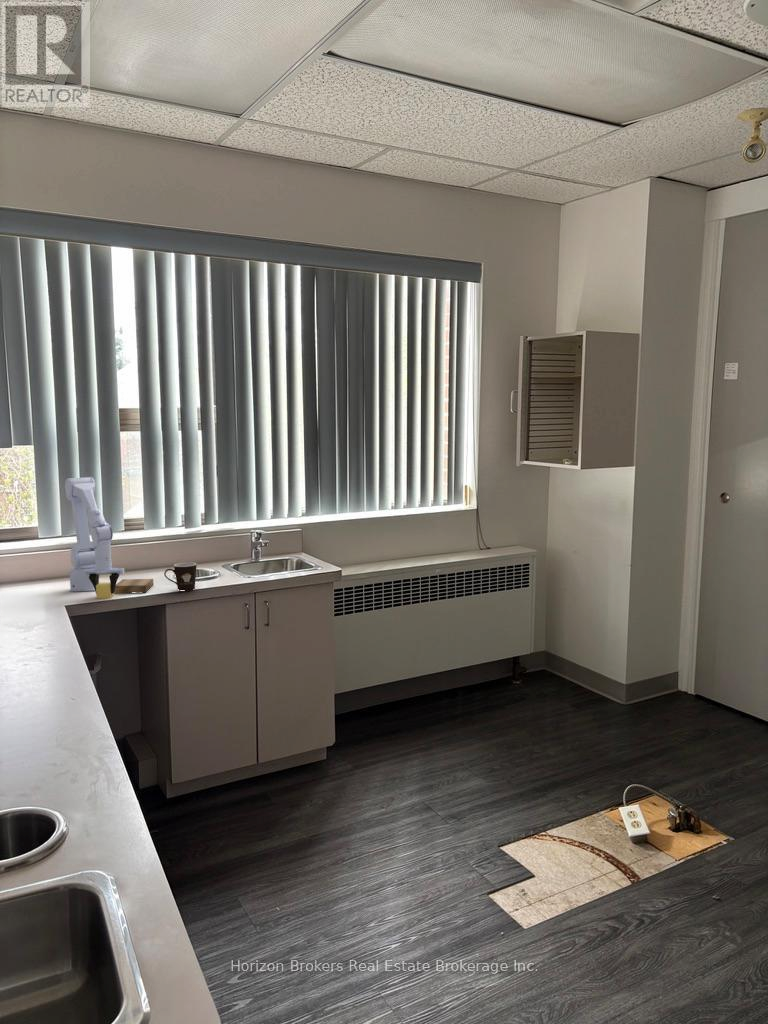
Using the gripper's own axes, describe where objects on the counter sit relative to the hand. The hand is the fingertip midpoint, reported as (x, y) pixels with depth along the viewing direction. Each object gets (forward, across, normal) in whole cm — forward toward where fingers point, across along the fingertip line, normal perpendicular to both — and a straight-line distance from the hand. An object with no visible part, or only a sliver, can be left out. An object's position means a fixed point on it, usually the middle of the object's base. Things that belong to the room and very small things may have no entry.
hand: (105, 593), depth 291 cm
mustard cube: (+1, 0, 0) cm, 1 cm away
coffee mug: (+2, +27, +9) cm, 29 cm away
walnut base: (+1, +8, +11) cm, 14 cm away
